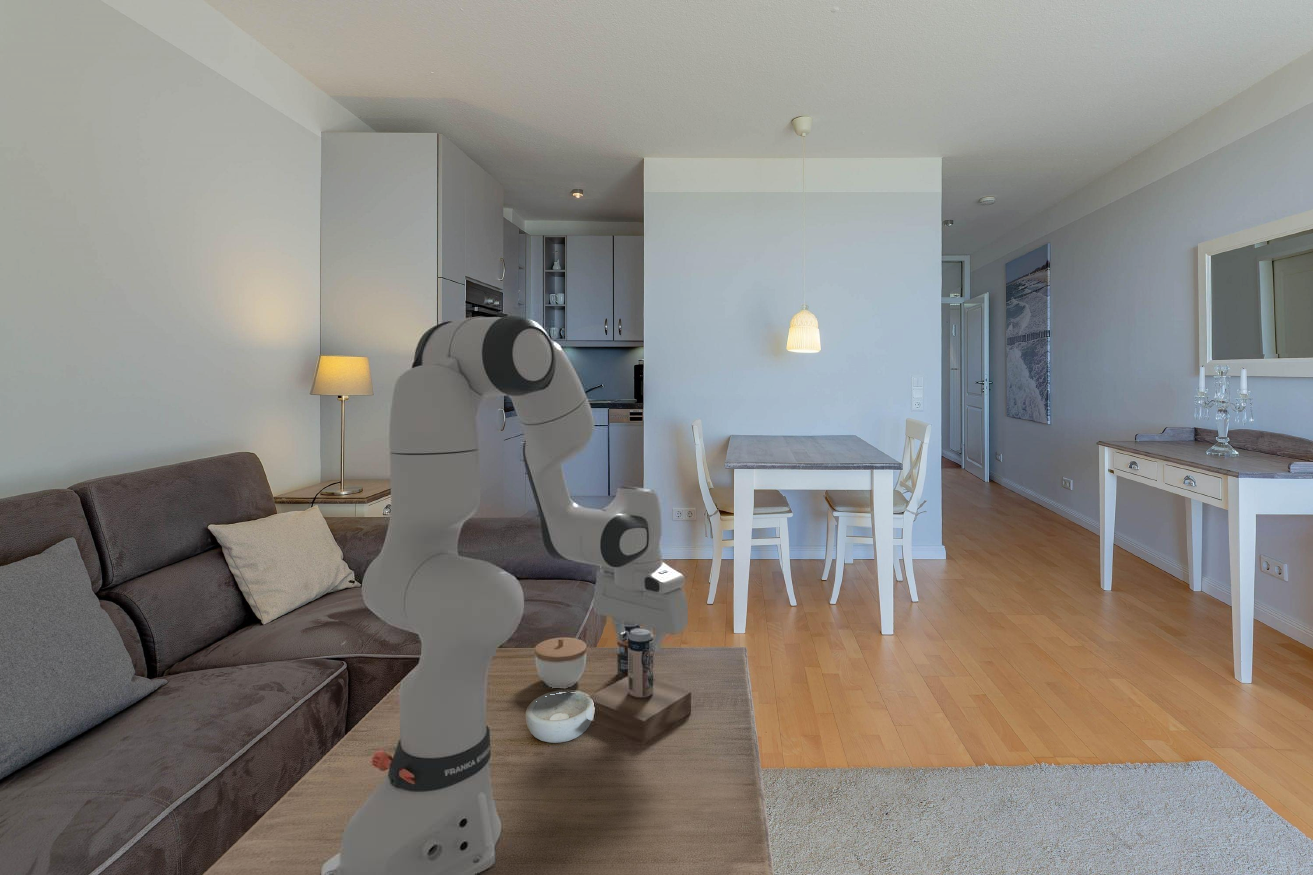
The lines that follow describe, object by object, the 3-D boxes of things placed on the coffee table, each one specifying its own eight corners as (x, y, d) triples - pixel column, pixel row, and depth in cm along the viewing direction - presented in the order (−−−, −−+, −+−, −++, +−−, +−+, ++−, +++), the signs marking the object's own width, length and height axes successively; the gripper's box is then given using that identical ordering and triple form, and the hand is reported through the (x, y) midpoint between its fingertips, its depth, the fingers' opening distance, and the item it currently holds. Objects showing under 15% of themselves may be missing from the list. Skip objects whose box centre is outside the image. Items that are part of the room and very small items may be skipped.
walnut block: (644, 743, 113) (644, 720, 112) (585, 718, 121) (585, 698, 121) (691, 712, 124) (691, 691, 123) (634, 691, 132) (634, 672, 132)
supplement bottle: (646, 669, 143) (646, 618, 143) (643, 680, 137) (643, 628, 137) (619, 668, 144) (619, 617, 143) (615, 679, 138) (614, 627, 137)
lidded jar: (529, 677, 139) (528, 634, 139) (577, 668, 144) (577, 626, 143) (542, 698, 130) (542, 652, 129) (594, 688, 134) (593, 643, 134)
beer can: (651, 700, 120) (650, 636, 119) (625, 698, 121) (625, 635, 120) (655, 688, 125) (655, 627, 124) (631, 687, 125) (630, 626, 125)
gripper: (585, 567, 125) (586, 638, 126) (671, 586, 112) (671, 665, 113) (608, 560, 130) (608, 629, 131) (692, 578, 117) (692, 653, 118)
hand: (638, 646), depth 122 cm, fingers open, 6 cm apart
